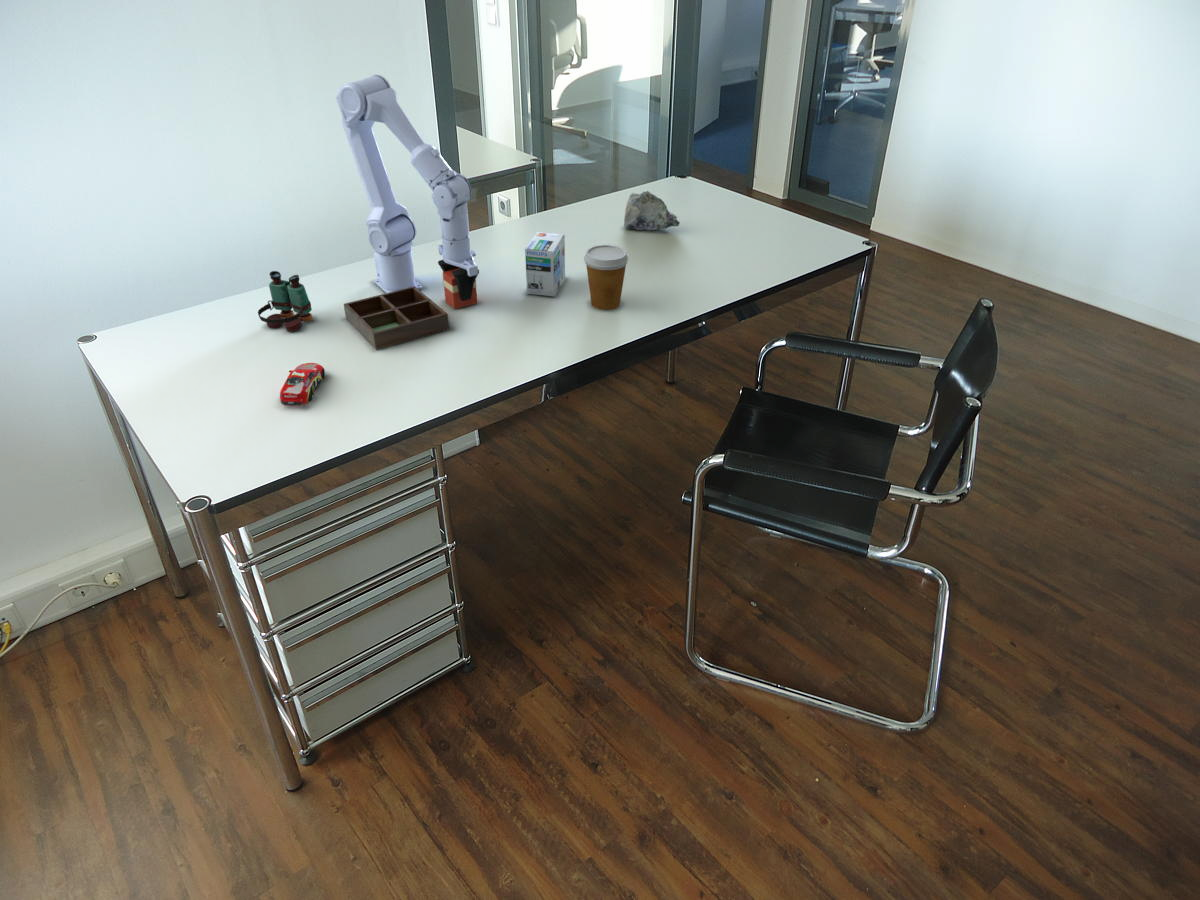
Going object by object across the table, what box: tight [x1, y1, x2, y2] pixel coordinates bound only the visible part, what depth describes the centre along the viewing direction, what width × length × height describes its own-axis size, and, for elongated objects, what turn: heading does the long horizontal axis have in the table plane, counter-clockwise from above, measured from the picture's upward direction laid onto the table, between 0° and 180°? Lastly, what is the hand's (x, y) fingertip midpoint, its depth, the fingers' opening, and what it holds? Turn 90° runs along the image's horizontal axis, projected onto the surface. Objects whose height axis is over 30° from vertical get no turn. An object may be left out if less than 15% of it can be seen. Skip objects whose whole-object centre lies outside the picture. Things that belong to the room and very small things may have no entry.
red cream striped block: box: [442, 268, 478, 310], centre depth 186 cm, size 4×6×7 cm
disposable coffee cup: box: [583, 244, 630, 311], centre depth 185 cm, size 10×10×12 cm
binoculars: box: [257, 270, 314, 333], centre depth 175 cm, size 9×11×10 cm
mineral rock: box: [623, 190, 681, 231], centre depth 222 cm, size 13×11×10 cm
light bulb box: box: [524, 231, 566, 298], centre depth 192 cm, size 11×7×11 cm, turn 168°
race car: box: [279, 362, 326, 406], centre depth 156 cm, size 13×5×4 cm, turn 177°
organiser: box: [343, 286, 450, 351], centre depth 178 cm, size 16×16×4 cm
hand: (460, 295), depth 187 cm, fingers closed on red cream striped block, 4 cm apart
